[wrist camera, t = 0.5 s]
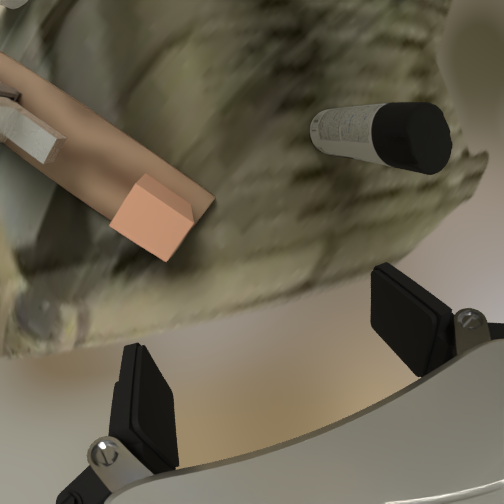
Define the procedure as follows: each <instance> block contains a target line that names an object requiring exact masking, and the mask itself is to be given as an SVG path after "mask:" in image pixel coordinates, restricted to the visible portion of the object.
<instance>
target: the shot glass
mask: <svg viewBox="0 0 504 504" xmlns="http://www.w3.org/2000/svg"><path fill="white" fill-rule="evenodd" d="M27 1H29V0H0V5H3V6H5V7H7V8H10V9H16V8H19V7H21V6H22V5H24V4H25V3H26V2H27Z"/></svg>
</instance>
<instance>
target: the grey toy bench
mask: <svg viewBox="0 0 504 504" xmlns="http://www.w3.org/2000/svg"><path fill="white" fill-rule="evenodd" d="M21 94H22V93H21V92H19V91H18V90H17V89H15V88H14V87H9V86H6V85H4V84H3V83H2V82H0V96H6V97H9V98H10V99H12V100H13V101H15V102H16V103H17V101H18V99H19V97H20V96H21Z"/></svg>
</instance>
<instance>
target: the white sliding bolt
mask: <svg viewBox="0 0 504 504" xmlns="http://www.w3.org/2000/svg"><path fill="white" fill-rule="evenodd" d="M7 138H9V139H10V140H11V141H13V142H14V143H15V144H17V145H18V146H19V147H21V148H22V149H23V150H25V151H26V152H27V153H29V154H30V155H31V156H33V157H34V158H35V159H37V160H38V161H39V162H41V163H42V164H46V163H50V162H54V160H55V159H56V157H57V155H58V153H59V151H60V150H61V148H62V146H63V144H64V143H65V141H66V139H67V138H66V137H65V136H63V135H62V134H60V133H59V132H57V131H56V130H55V129H53V128H52V127H50V126H49V125H47V124H46V123H45V122H43V121H42V120H40V119H39V118H37V117H36V116H35V115H33V114H32V113H30V112H29V111H27V110H26V109H25V108H23V107H22V106H20V105H19V104H18V103H16V102H15V101H13V100H12V99H10V98H9V97H6V96H0V143H1V142H6V140H7Z"/></svg>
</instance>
